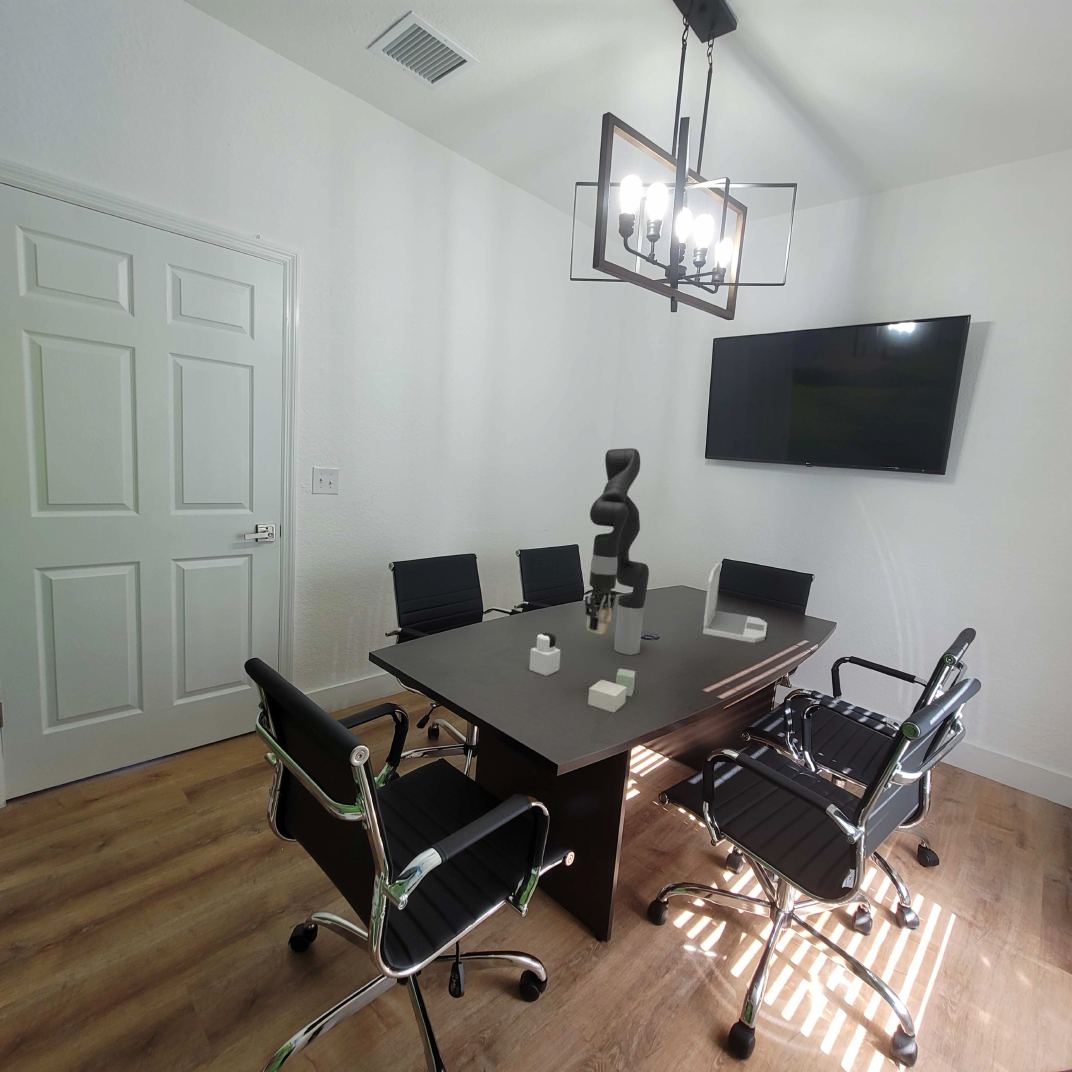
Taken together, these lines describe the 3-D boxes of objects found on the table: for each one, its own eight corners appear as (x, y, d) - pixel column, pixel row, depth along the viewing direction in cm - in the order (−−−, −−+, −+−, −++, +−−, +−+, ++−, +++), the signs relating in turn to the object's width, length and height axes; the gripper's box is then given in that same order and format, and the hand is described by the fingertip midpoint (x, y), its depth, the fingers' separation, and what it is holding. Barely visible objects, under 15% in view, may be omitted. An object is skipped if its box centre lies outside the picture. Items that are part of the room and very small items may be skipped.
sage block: (617, 687, 168) (619, 668, 167) (633, 689, 166) (635, 671, 166) (615, 693, 163) (616, 674, 162) (631, 696, 162) (633, 677, 161)
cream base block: (600, 695, 161) (601, 679, 161) (625, 703, 157) (626, 686, 157) (587, 705, 155) (589, 688, 154) (613, 713, 151) (615, 696, 150)
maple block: (594, 627, 163) (597, 604, 162) (609, 631, 160) (611, 607, 159) (585, 630, 159) (588, 606, 158) (600, 634, 156) (602, 610, 155)
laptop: (764, 645, 218) (772, 581, 214) (702, 634, 228) (709, 572, 224) (767, 624, 248) (774, 567, 244) (711, 615, 258) (718, 560, 254)
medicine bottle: (542, 664, 182) (544, 629, 180) (559, 670, 178) (562, 635, 176) (528, 669, 177) (531, 634, 175) (545, 676, 172) (548, 640, 170)
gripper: (605, 566, 165) (599, 620, 167) (579, 571, 154) (573, 629, 156) (627, 570, 160) (621, 626, 163) (602, 575, 149) (596, 635, 151)
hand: (598, 627), depth 159 cm, fingers closed on maple block, 5 cm apart
